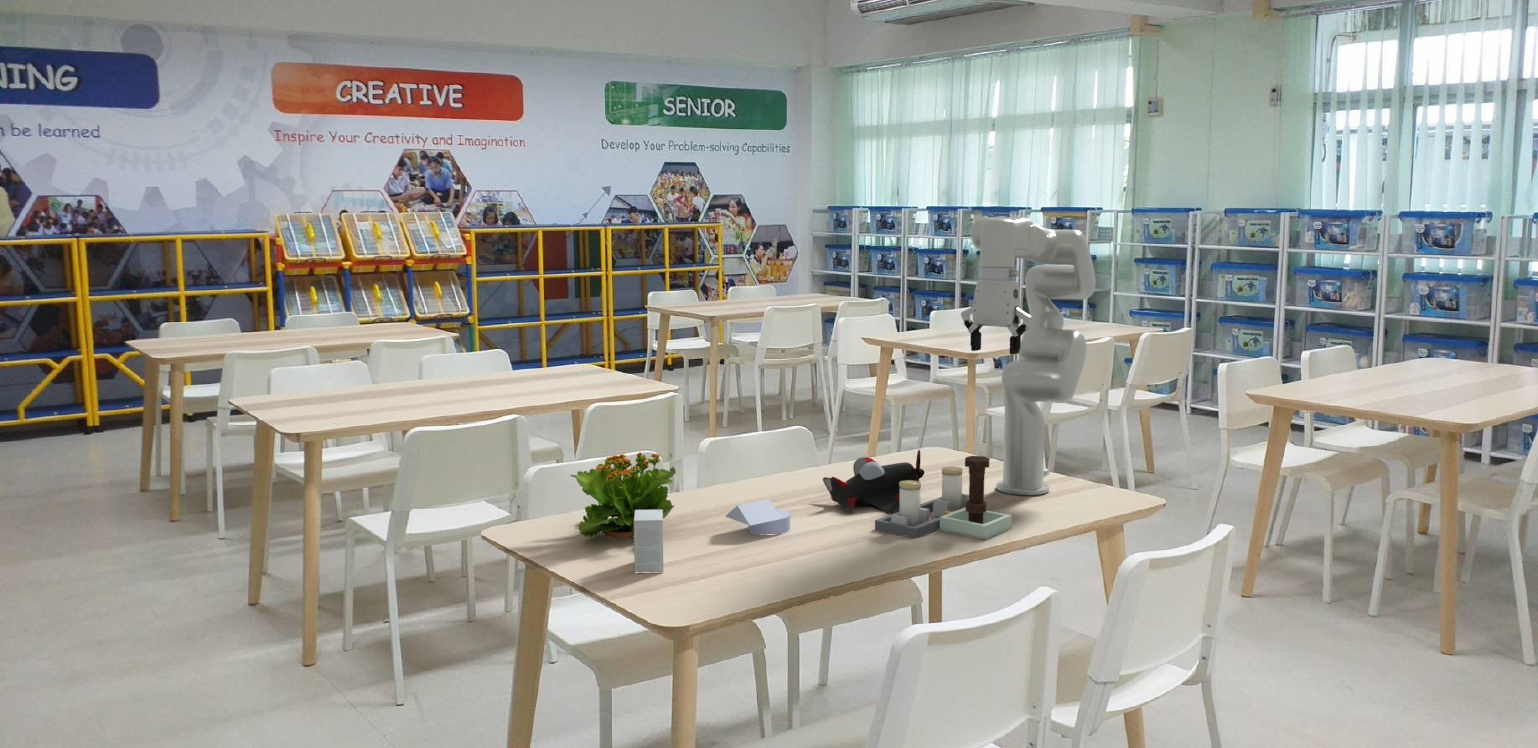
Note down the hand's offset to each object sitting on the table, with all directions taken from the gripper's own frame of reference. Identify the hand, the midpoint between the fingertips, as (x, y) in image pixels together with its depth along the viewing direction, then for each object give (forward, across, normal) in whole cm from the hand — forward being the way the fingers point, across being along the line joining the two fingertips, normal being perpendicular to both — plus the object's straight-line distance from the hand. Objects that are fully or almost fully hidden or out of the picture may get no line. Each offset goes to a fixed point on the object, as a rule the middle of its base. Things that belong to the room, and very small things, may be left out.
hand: (995, 352), depth 262 cm
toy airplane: (+37, +24, +11) cm, 45 cm away
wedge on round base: (+37, +29, +46) cm, 65 cm away
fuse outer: (+36, +6, +24) cm, 44 cm away
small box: (+37, +29, +79) cm, 92 cm away
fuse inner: (+36, +6, +7) cm, 37 cm away
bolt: (+36, -5, +16) cm, 40 cm away
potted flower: (+36, +51, +65) cm, 90 cm away
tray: (+36, -6, +16) cm, 40 cm away
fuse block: (+36, +6, +16) cm, 40 cm away
